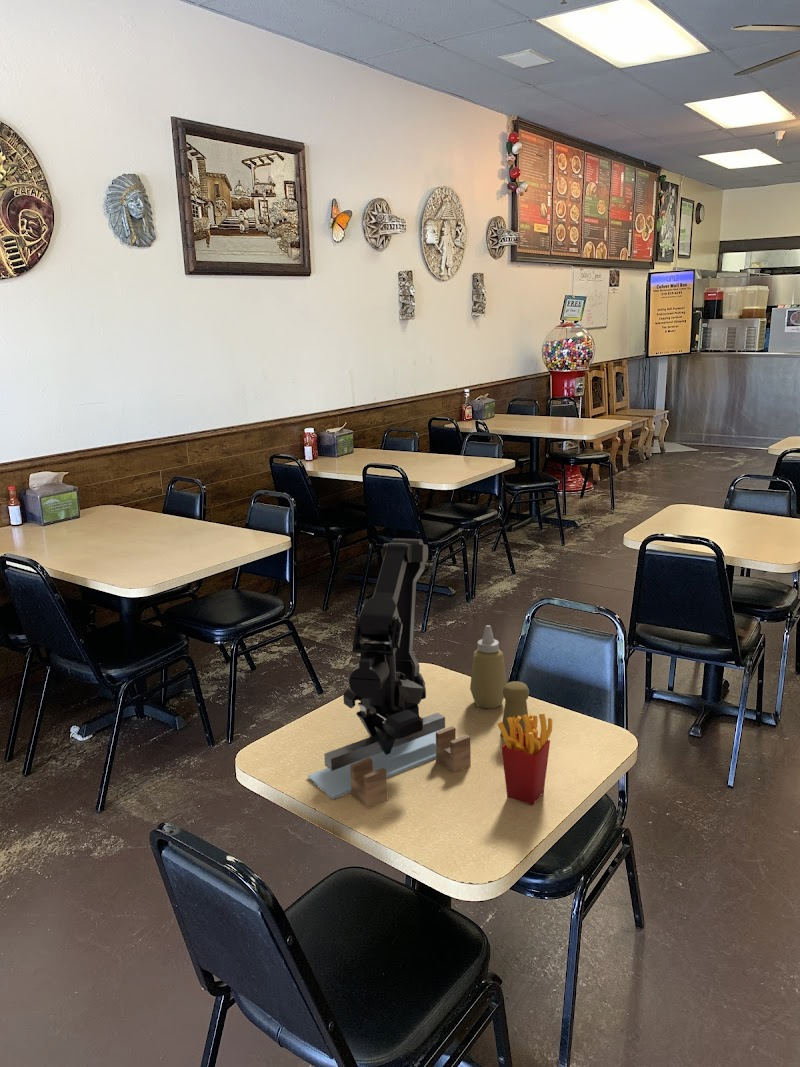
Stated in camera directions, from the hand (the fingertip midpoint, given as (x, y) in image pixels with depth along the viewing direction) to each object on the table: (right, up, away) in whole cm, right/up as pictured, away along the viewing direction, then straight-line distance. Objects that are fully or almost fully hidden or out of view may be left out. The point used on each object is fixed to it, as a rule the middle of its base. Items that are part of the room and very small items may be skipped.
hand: (383, 750), depth 151 cm
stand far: (+13, -2, 0) cm, 13 cm away
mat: (+1, -2, +1) cm, 3 cm away
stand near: (-2, -5, -10) cm, 12 cm away
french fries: (+25, -5, -10) cm, 27 cm away
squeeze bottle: (+23, +4, +24) cm, 33 cm away
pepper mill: (+27, 0, +10) cm, 28 cm away
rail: (+1, +1, 0) cm, 1 cm away
